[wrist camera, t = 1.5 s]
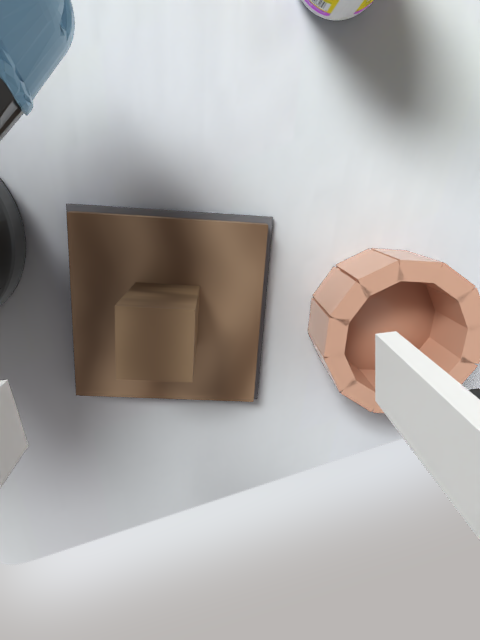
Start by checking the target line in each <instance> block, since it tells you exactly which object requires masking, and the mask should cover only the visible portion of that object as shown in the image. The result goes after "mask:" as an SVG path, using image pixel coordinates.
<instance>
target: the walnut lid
mask: <svg viewBox="0 0 480 640" xmlns="http://www.w3.org/2000/svg"><path fill="white" fill-rule="evenodd" d="M67 230H68V249H69V268H70V287H71V306H72V325H73V344H74V363H75V382H76V395H80V396H108V397H135V398H163V399H190V400H217V401H245V402H253V401H254V389H255V377H256V365H257V353H258V341H259V329H260V317H261V306H262V294H263V282H264V270H265V258H266V246H267V234H268V224H266V223H251V222H236V221H220V220H204V219H189V218H173V217H158V216H142V215H127V214H111V213H96V212H80V211H70V212H67Z"/></svg>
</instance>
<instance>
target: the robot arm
mask: <svg viewBox="0 0 480 640" xmlns="http://www.w3.org/2000/svg"><path fill="white" fill-rule="evenodd" d="M74 27H75V21H74V12H73V7H72V3H71V0H0V141H1V140H2V138H3V137H4V136H5V135H6V134H7V132H8V131H9V130H10V129H11V128H12V127H13V125H14V124H15V123H16V122H17V121H18V119H19V118H20V117H21V116H22V115H23V113H24V114H26V115H28V114H29V113H30V112H31V110H32V108H33V99H34V97H35V96H36V94H37V93H38V91H39V90H40V89H41V87H42V86H43V84H44V83H45V82H46V80H47V79H48V78H49V76H50V75H51V73H52V72H53V71H54V69H55V68H56V67H57V65H58V64H59V62H60V61H61V60H62V58H63V57H64V56H65V54H66V53H67V51H68V49H69V48H70V45H71V43H72V39H73V35H74ZM25 254H26V241H25V232H24V227H23V223H22V219H21V216H20V213H19V211H18V208H17V206H16V203H15V202H14V200H13V198H12V196H11V194H10V192H9V191H8V189H7V188H6V186H5V185H4V183H3V182H2V181H1V179H0V306H1V305H2V304H3V303H4V302H5V301H6V300H7V299H8V298H9V297H10V295H11V294H12V292H13V291H14V289H15V288H16V286H17V284H18V282H19V280H20V277H21V274H22V271H23V267H24V262H25ZM375 401H376V402H377V404H378V405H379V406H380V408H381V409H382V410H383V412H384V413H385V414H386V416H387V417H388V419H389V420H390V421H391V423H392V424H393V425H394V427H395V428H396V429H397V431H398V432H399V433H400V435H401V436H402V437H403V439H404V440H405V441H406V442H407V444H408V445H409V446H410V448H411V449H412V451H413V452H414V453H415V455H416V456H417V457H418V459H419V460H420V461H421V463H422V464H423V465H424V466H425V468H426V469H427V471H428V472H429V473H430V475H431V476H432V477H433V479H434V480H435V481H436V483H437V484H438V485H439V487H440V488H441V489H442V491H443V492H444V493H445V495H446V496H447V497H448V499H449V500H450V501H451V503H452V504H453V505H454V507H455V508H456V509H457V511H458V512H459V513H460V515H461V516H462V517H463V519H464V520H465V521H466V523H467V524H468V525H469V527H470V528H471V529H472V531H473V532H474V533H475V535H476V536H477V537H478V539H479V540H480V389H479V388H478V389H471V390H467V389H466V388H465V387H464V386H463V385H461V384H460V383H459V382H458V381H456V380H455V379H454V378H453V377H452V376H450V375H449V374H448V373H447V372H445V371H444V370H443V369H442V368H441V367H439V366H438V365H437V364H436V363H434V362H433V361H432V360H431V359H429V358H428V357H427V356H426V355H425V354H423V353H422V352H421V351H420V350H418V349H417V348H416V347H415V346H414V345H412V344H411V343H410V342H409V341H407V340H406V339H405V338H404V337H403V336H401V335H400V334H399V333H398V332H396V331H394V332H386V333H378V334H375ZM28 446H29V445H28V442H27V439H26V436H25V433H24V429H23V426H22V423H21V420H20V417H19V414H18V410H17V407H16V404H15V401H14V398H13V394H12V391H11V388H10V385H9V382H8V380H0V488H1V487H2V485H3V484H4V482H5V481H6V479H7V478H8V476H9V475H10V473H11V472H12V470H13V469H14V467H15V466H16V464H17V463H18V461H19V460H20V458H21V457H22V455H23V454H24V452H25V451H26V449H27V448H28Z"/></svg>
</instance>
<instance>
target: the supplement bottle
mask: <svg viewBox="0 0 480 640" xmlns="http://www.w3.org/2000/svg"><path fill="white" fill-rule="evenodd" d="M373 1H374V0H302V2H303V3H304V4H305V5H306V7H307V8H308V9H309V10H310V11H312V12H313V13H314V14H316V15H317V16H320V17H322V18H325V19H328V20H345V19H349V18H352V17H354V16H356V15H358V14H360V13H361V12H363V11H364V10H365V9H366V8H367V7H368V6H369V5H371V3H372V2H373Z"/></svg>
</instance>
